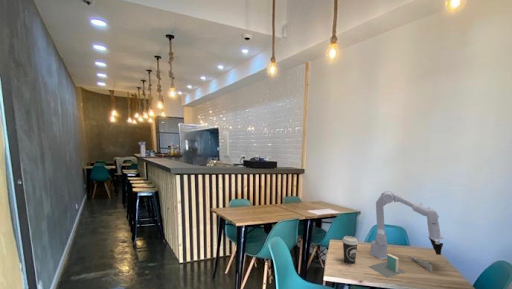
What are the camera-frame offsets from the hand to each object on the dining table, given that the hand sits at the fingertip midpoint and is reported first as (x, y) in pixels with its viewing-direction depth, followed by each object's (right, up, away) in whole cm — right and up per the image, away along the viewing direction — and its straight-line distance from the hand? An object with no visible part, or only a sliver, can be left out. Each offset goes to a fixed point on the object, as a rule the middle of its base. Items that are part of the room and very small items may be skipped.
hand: (437, 251), depth 148 cm
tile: (-29, -9, -3) cm, 31 cm away
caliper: (-7, -11, +5) cm, 14 cm away
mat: (-33, -10, -3) cm, 34 cm away
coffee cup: (-52, -9, +6) cm, 53 cm away
